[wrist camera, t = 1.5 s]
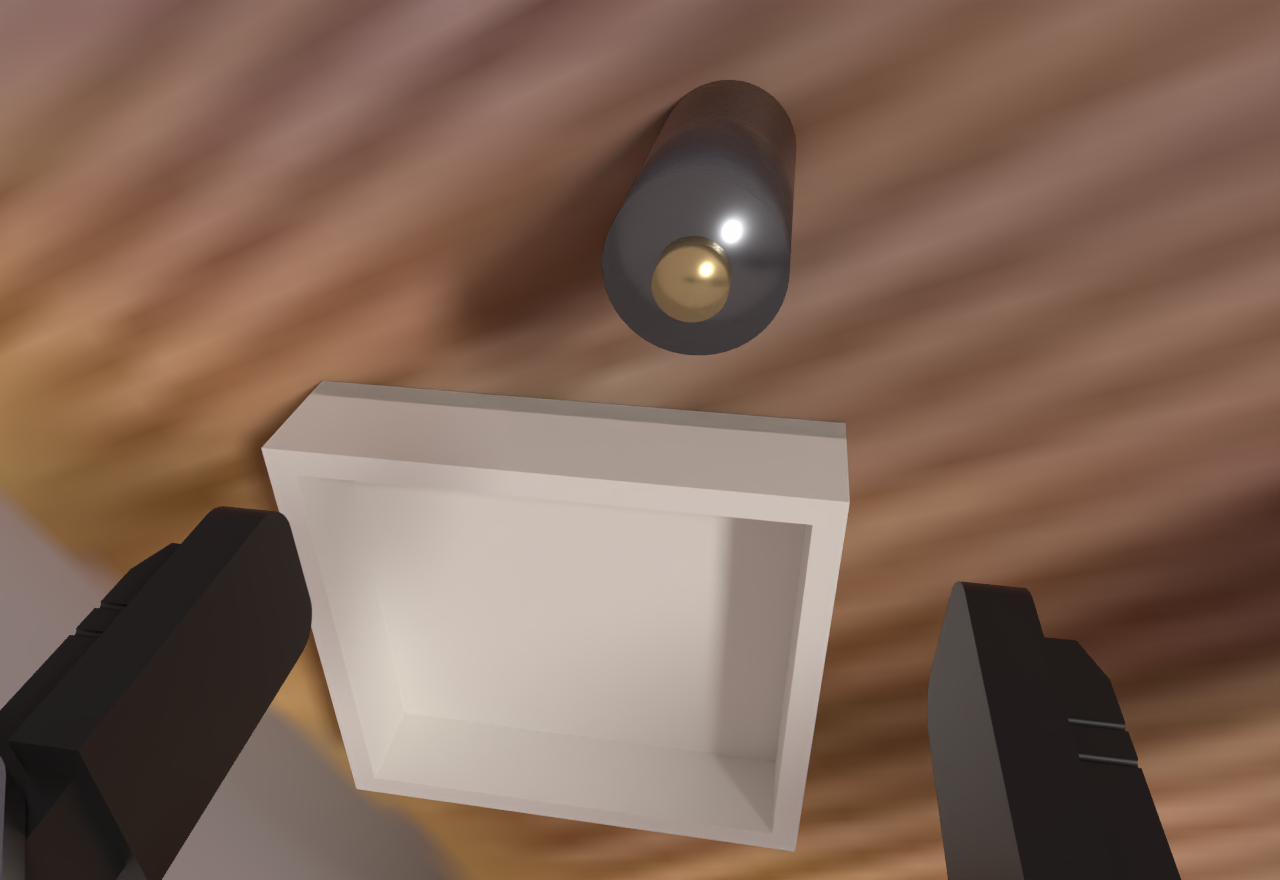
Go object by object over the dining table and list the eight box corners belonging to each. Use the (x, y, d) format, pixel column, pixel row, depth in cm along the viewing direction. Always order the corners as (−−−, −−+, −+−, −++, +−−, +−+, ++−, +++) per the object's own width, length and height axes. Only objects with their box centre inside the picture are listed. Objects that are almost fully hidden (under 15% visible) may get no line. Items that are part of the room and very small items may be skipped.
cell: (802, 82, 25) (797, 196, 17) (789, 220, 28) (780, 379, 20) (660, 77, 26) (591, 186, 18) (659, 214, 28) (597, 365, 20)
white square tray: (845, 423, 31) (849, 502, 27) (796, 760, 41) (794, 851, 37) (322, 380, 34) (261, 448, 30) (395, 708, 44) (356, 788, 40)
